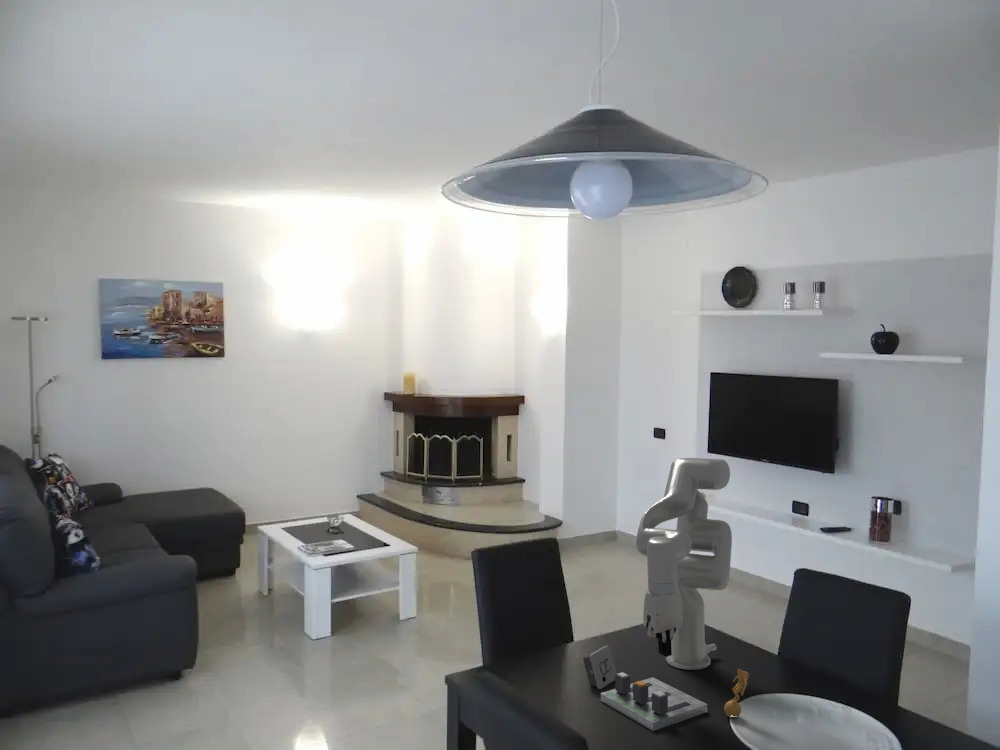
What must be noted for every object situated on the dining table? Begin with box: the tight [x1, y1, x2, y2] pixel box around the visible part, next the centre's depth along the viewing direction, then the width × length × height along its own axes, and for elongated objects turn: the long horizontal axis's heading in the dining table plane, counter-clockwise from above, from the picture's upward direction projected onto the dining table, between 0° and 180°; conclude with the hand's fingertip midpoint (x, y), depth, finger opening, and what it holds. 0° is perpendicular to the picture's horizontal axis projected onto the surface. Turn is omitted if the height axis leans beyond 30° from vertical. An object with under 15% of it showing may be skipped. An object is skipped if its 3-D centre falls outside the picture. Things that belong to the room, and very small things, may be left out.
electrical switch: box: [582, 645, 618, 690], centre depth 219 cm, size 9×5×9 cm, turn 141°
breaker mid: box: [633, 680, 649, 704], centre depth 202 cm, size 2×3×5 cm
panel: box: [600, 676, 708, 732], centre depth 204 cm, size 18×20×2 cm
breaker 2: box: [652, 691, 668, 715], centre depth 196 cm, size 2×3×4 cm
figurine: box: [723, 668, 750, 718], centre depth 197 cm, size 8×6×12 cm
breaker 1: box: [614, 671, 631, 694], centre depth 208 cm, size 2×3×4 cm
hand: (665, 654), depth 207 cm, fingers closed
